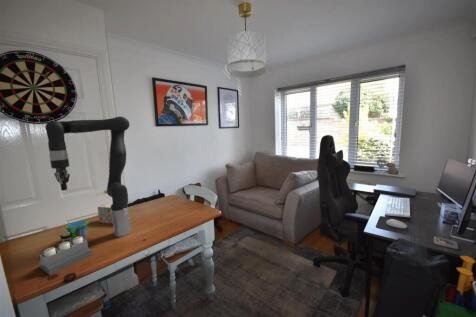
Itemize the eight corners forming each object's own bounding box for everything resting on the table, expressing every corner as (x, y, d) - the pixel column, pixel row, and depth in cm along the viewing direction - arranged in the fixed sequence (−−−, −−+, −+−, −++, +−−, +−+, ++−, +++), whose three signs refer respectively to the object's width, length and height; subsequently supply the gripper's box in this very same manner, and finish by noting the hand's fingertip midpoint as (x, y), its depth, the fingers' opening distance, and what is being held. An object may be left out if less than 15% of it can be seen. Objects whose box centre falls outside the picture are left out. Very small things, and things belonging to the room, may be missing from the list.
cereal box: (129, 221, 156) (128, 205, 154) (123, 224, 150) (121, 208, 148) (106, 218, 161) (104, 203, 160) (99, 222, 155) (97, 206, 154)
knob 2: (81, 245, 117) (80, 235, 116) (85, 247, 115) (83, 237, 114) (72, 249, 113) (71, 238, 113) (76, 251, 111) (74, 240, 110)
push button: (76, 244, 125) (74, 229, 123) (77, 248, 121) (75, 232, 120) (62, 249, 120) (59, 233, 119) (62, 253, 117) (60, 236, 115)
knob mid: (68, 251, 112) (67, 240, 111) (72, 253, 110) (70, 242, 109) (59, 255, 108) (57, 244, 107) (62, 257, 106) (60, 246, 105)
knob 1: (54, 257, 107) (52, 246, 106) (58, 259, 105) (56, 248, 104) (44, 262, 103) (42, 250, 102) (47, 264, 101) (45, 252, 100)
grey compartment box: (81, 249, 120) (79, 236, 119) (91, 254, 114) (89, 241, 113) (39, 267, 105) (37, 253, 104) (49, 275, 99) (47, 260, 98)
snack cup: (75, 234, 138) (73, 219, 136) (93, 232, 140) (91, 217, 139) (62, 247, 123) (59, 231, 121) (83, 244, 125) (80, 228, 124)
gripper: (73, 158, 113) (77, 189, 115) (62, 157, 120) (66, 186, 122) (56, 160, 106) (61, 193, 109) (45, 159, 113) (50, 190, 116)
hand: (64, 189), depth 116 cm, fingers closed
